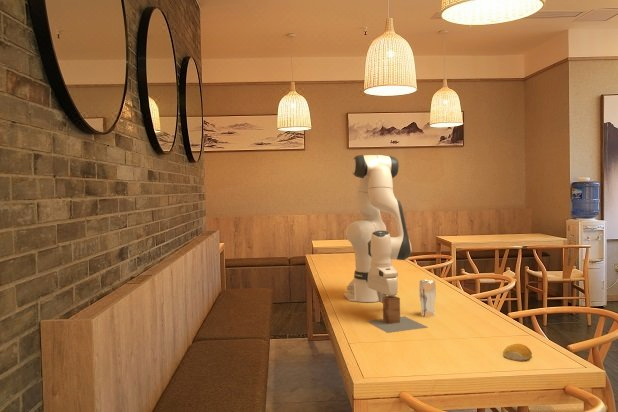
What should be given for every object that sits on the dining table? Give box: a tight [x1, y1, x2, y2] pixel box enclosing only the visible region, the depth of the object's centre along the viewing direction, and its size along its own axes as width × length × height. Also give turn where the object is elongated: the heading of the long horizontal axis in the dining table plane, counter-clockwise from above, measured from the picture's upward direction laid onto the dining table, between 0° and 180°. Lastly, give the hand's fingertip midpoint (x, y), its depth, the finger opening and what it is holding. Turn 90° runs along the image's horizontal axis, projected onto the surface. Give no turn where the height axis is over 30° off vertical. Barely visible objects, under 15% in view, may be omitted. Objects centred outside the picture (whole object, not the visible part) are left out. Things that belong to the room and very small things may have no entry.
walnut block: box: [382, 295, 401, 324], centre depth 208 cm, size 5×5×10 cm
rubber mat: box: [366, 316, 429, 334], centre depth 204 cm, size 18×18×1 cm
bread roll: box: [502, 343, 533, 362], centre depth 166 cm, size 8×9×4 cm
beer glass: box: [418, 279, 437, 318], centre depth 217 cm, size 7×7×15 cm
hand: (381, 302), depth 215 cm, fingers closed
